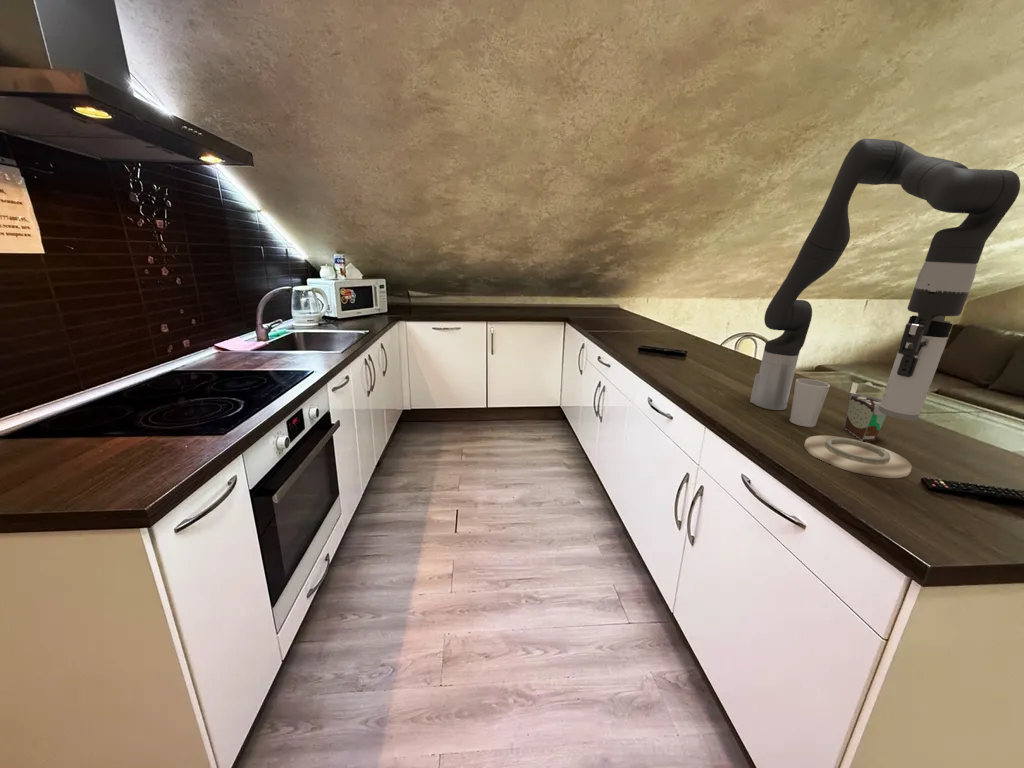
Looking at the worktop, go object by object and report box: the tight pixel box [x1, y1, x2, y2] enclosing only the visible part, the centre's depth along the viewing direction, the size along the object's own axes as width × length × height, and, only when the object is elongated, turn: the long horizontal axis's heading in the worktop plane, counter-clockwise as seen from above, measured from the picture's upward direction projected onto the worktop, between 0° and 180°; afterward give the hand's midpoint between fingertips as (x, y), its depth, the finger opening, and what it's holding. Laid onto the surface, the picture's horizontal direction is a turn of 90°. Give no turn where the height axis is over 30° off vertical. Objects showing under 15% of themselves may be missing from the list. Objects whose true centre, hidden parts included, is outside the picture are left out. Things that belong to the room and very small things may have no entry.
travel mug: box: [879, 315, 954, 421], centre depth 85 cm, size 6×7×20 cm
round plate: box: [803, 435, 913, 479], centre depth 102 cm, size 20×20×2 cm
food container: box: [843, 392, 887, 443], centre depth 115 cm, size 12×6×10 cm, turn 168°
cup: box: [789, 378, 831, 428], centre depth 122 cm, size 8×8×12 cm
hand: (911, 373), depth 86 cm, fingers closed on travel mug, 6 cm apart
